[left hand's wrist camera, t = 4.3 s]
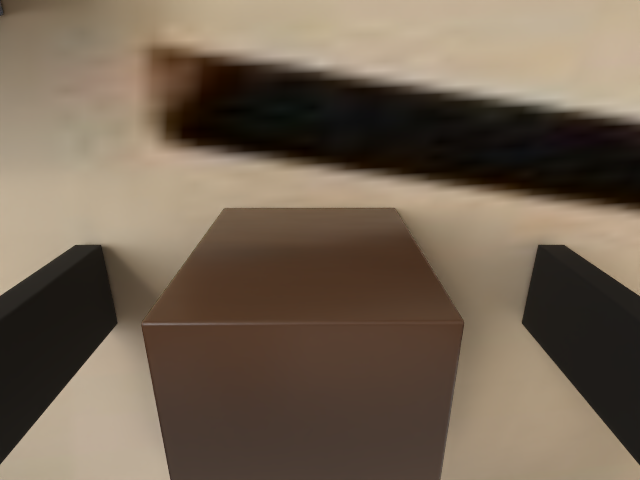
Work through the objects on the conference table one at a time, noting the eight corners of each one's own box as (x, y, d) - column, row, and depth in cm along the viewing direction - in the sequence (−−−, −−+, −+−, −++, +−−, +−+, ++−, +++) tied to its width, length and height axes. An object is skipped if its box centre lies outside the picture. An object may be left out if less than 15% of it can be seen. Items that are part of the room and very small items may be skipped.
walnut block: (385, 350, 14) (432, 537, 8) (236, 350, 14) (180, 539, 8) (395, 207, 12) (465, 321, 6) (223, 207, 12) (138, 323, 6)
